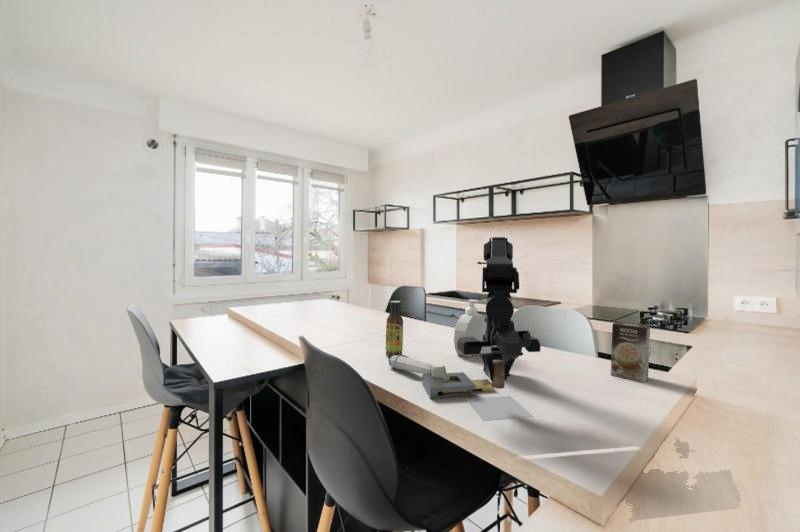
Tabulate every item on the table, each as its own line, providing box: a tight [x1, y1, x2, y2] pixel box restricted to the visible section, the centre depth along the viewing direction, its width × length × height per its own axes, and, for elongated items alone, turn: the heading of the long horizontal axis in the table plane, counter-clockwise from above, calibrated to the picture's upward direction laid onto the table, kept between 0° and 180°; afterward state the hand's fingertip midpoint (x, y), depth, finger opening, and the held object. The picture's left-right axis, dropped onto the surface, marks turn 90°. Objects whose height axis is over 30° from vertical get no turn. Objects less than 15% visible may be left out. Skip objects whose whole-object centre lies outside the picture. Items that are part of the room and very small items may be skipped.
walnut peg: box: [491, 360, 506, 390], centre depth 86 cm, size 3×3×6 cm
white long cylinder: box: [388, 354, 450, 383], centre depth 108 cm, size 5×7×25 cm
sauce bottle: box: [385, 300, 404, 358], centre depth 131 cm, size 6×6×20 cm
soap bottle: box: [453, 299, 486, 358], centre depth 134 cm, size 16×5×20 cm, turn 137°
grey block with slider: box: [421, 371, 494, 400], centre depth 97 cm, size 18×10×3 cm, turn 98°
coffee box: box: [610, 320, 651, 383], centre depth 109 cm, size 9×6×16 cm
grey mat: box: [465, 395, 534, 422], centre depth 86 cm, size 12×12×1 cm
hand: (498, 379), depth 86 cm, fingers closed on walnut peg, 3 cm apart
